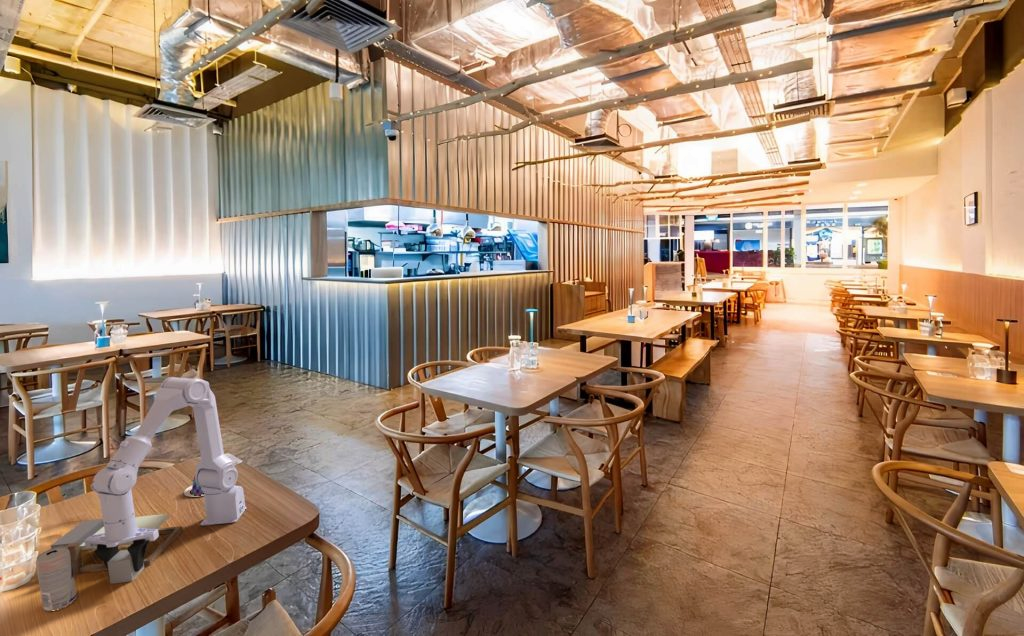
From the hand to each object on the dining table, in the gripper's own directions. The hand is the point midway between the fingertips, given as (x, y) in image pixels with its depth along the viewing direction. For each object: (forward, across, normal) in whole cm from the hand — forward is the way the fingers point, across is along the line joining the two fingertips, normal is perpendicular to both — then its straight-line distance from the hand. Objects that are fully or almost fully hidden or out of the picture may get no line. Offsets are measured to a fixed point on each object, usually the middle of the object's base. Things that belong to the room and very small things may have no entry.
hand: (127, 570), depth 113 cm
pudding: (+2, -2, +44) cm, 44 cm away
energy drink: (+2, -9, -8) cm, 12 cm away
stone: (+1, 0, 0) cm, 1 cm away
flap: (-3, -9, +11) cm, 15 cm away
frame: (+1, -9, +11) cm, 14 cm away
